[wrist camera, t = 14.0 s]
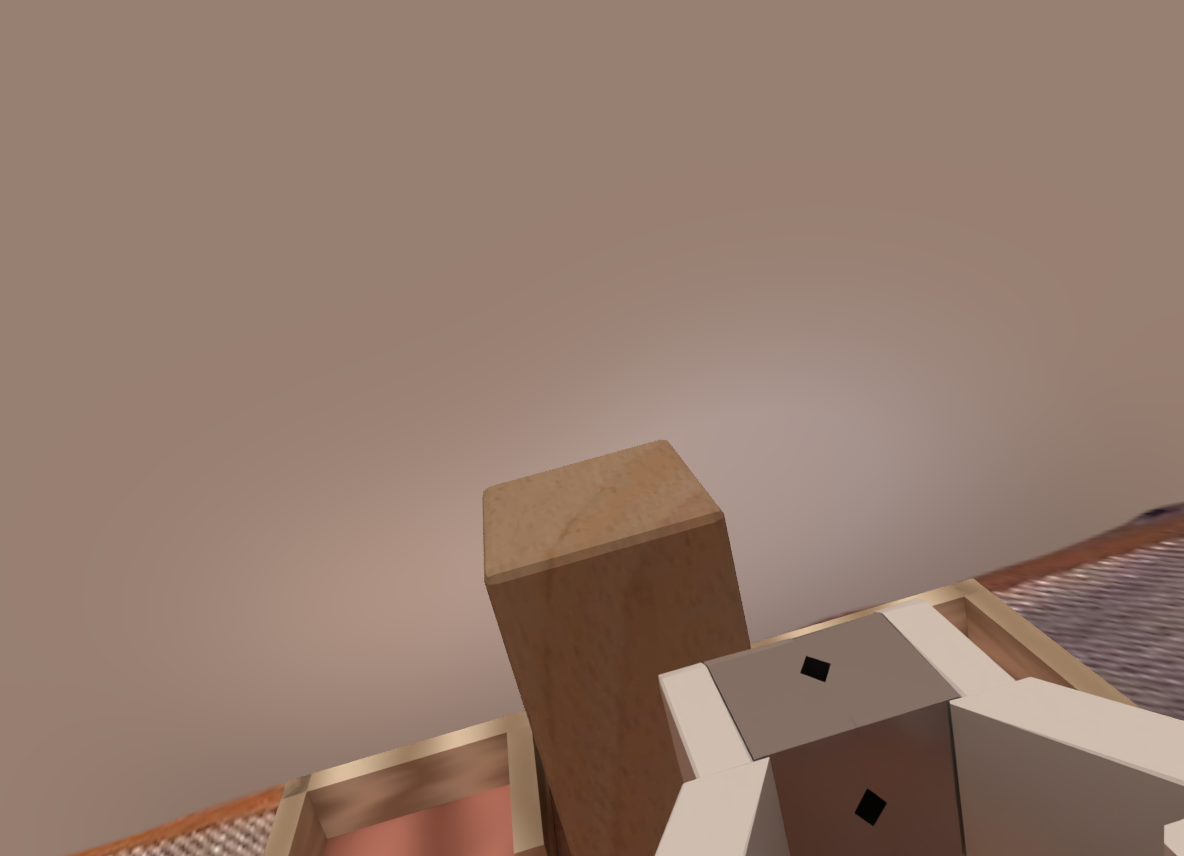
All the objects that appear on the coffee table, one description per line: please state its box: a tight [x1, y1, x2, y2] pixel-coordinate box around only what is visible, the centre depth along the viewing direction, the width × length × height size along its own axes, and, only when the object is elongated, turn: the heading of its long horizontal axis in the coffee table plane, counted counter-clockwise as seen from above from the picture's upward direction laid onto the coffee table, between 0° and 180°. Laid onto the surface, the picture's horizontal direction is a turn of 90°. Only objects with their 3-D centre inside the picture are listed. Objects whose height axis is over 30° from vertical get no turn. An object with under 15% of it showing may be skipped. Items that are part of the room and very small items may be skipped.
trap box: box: [263, 578, 1141, 856], centre depth 38 cm, size 44×23×4 cm, turn 98°
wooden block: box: [483, 440, 751, 856], centre depth 39 cm, size 10×10×20 cm
